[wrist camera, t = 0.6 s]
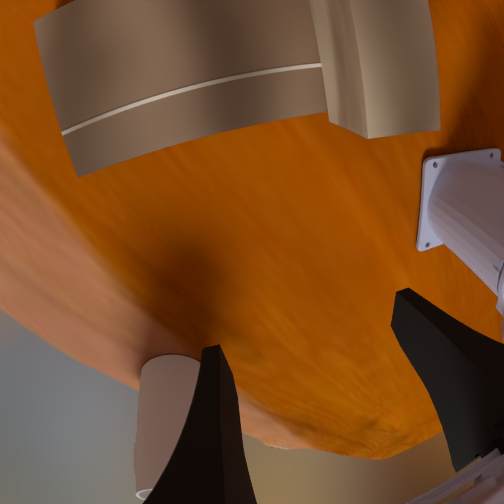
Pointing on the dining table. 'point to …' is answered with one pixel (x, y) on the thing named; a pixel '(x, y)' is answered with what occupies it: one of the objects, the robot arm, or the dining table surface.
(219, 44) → the plank
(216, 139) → the dining table surface
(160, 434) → the mug
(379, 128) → the stepped beige block
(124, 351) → the dining table surface
